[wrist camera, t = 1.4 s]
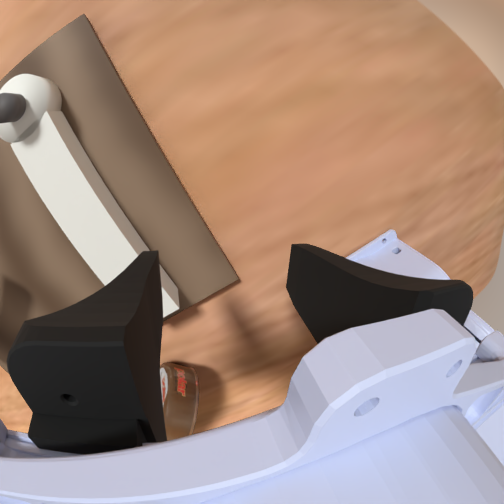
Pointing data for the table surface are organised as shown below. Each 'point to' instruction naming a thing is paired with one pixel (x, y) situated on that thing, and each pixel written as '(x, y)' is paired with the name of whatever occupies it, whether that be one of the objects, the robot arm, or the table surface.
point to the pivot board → (114, 177)
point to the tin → (179, 399)
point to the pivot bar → (73, 185)
